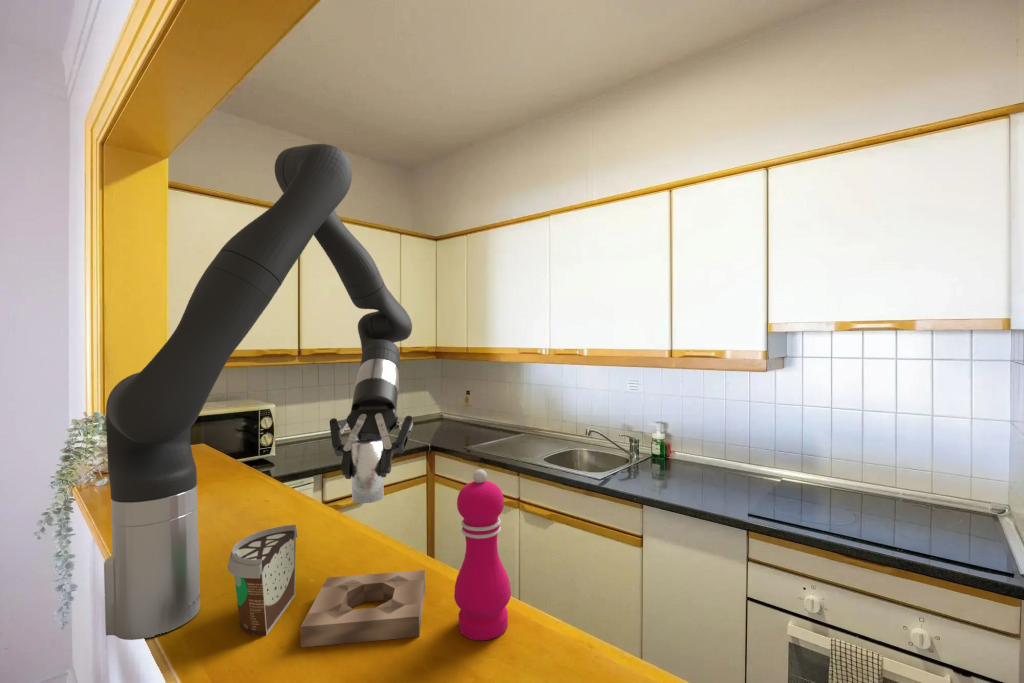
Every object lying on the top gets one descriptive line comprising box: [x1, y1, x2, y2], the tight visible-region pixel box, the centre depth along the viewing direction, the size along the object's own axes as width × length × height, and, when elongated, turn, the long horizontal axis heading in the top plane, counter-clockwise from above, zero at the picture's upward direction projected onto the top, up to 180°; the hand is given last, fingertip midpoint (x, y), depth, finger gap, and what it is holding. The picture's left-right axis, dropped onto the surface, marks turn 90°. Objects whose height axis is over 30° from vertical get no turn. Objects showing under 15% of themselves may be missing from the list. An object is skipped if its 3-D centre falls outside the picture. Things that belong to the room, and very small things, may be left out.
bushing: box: [351, 438, 385, 504], centre depth 76 cm, size 5×5×9 cm
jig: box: [300, 569, 426, 648], centre depth 64 cm, size 14×12×2 cm
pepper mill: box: [453, 469, 512, 641], centre depth 61 cm, size 7×7×20 cm
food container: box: [227, 524, 298, 637], centre depth 64 cm, size 12×6×10 cm, turn 4°
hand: (365, 475), depth 74 cm, fingers closed on bushing, 4 cm apart
